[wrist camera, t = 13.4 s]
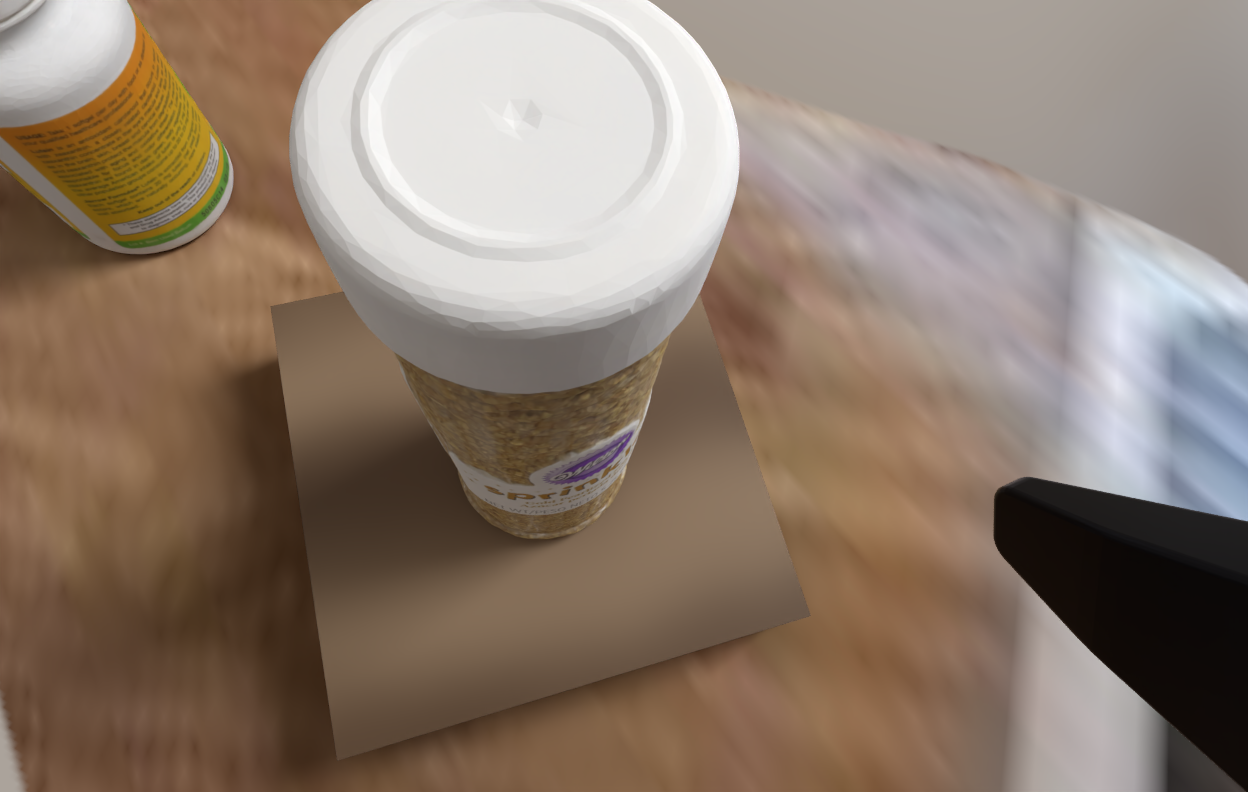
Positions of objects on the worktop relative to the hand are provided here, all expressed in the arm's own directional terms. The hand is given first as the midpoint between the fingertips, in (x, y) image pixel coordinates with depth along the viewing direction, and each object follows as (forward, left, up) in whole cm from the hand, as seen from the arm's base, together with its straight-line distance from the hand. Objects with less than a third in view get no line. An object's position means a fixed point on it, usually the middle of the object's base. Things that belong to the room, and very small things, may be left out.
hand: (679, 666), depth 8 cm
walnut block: (+6, +1, -13) cm, 15 cm away
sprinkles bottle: (+6, +1, -11) cm, 12 cm away
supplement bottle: (+19, +11, -14) cm, 26 cm away
